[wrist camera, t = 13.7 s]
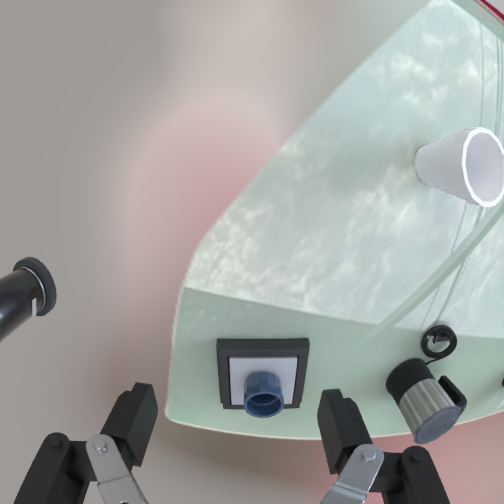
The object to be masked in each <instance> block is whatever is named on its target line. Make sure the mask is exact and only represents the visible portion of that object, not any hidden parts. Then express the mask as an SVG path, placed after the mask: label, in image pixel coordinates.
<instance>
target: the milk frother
mask: <svg viewBox="0 0 504 504" xmlns="http://www.w3.org/2000/svg"><path fill="white" fill-rule="evenodd" d="M445 333H446V334H445ZM429 339H432V340H433V343H434V344H435V343H436V342H442V341H445V340H447V341H450V344H449V346H448V347H447V348H446V349H445V350H444V351H442V352H437V353H435V352H432V351H431V350H429V348H428V345H427V344H428V340H429ZM456 345H457V338H456V335H455V333H454V332H453V330H452V329H451V328H450V327H448V326H445V325H438V326H435V327H433V328H431V329H430V330H429V331H428V332H427V333H426V334H425V336H424V338H423V341H422V350H423V352H424V354H425V355H426V356H428V357H430V358H436V359H434V360H431V361H429V362H427V363H425V362H424V361H423V360H421V359H411V360H408V361H406V362H404V363H403V364H401V365H399V366H398V367H397V368H396V369H395V370H394V371H393V372H392V373H391V375H390V376H389V378H388V380H387V384H386V387H387V390H388V392H389V393H390V394H391V395H392V397H393V398H394V400H395V401H396V403H397V405H398V407H399V409H400V411H401V413H402V415H403V417H404V418H405V420H406V422H407V424H408V426H409V428H410V430H411V432H412V434H413V436H414V442H415V443H416V444H425V443H429V442H431V441H433V440H435V439H437V438H439V437H440V436H442V435H443V434H445V433H446V432H447V431H448V430H449V429H450V428H451V427H453V425H454V424H455V422H456V421H457V420H458V418H459V416H460V415H461V414H462V412H463V411H464V409H465V407H466V405H467V400H466V398H465V396H464V395H463V394H462V393H461V392H460V391H459V389H458V388H457V387H456V386H455V385H454V384H453V383H452V382H451V381H450V380H449V379H448V378H447V377H446V376H441V377H440V379H439V380H438V382H437V380H436V379H435V378H434V377H433V375H432V374H431V372H430V370H429V369H428V367H427V366H426V365H428V364H429V363H431V362H434V361H437V360H440V359H442V358H444V357H446V356H448V355H450V354H451V353H452V352H453V351H454V349H455V348H456Z"/></svg>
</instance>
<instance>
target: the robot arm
mask: <svg viewBox="0 0 504 504" xmlns="http://www.w3.org/2000/svg"><path fill="white" fill-rule="evenodd" d="M46 301H47V294H46V289H45V286H44V283H43V281H42V279H41V278H40V276H39V275H38V273H37V272H36V271H35V270H34V269H32V268H31V267H28V266H22V267H20V268H18V269H17V270H16V271H14V272H12V273H10V274H8V275H6V276H4V277H2V278H1V279H0V342H1V341H2V340H4V339H5V338H6V337H7V336H9V335H10V334H11V333H12V332H13V331H15V330H16V329H17V328H18V327H20V326H21V325H22V324H23V323H24V322H26V321H27V320H28V319H30V318H31V317H32V316H33V317H34V316H35V315H36V313H37V312H39V311H41V310H42V309H43V308H44V307H45V305H46ZM157 414H158V407H157V402H156V398H155V394H154V390H153V386H152V385H151V384H145V383H138V382H136V383H135V385H134V387H133V389H132V391H125V392H124V393H122V394H121V395H120V396H119V397H118V399H117V401H116V403H115V406H114V407H113V409H112V412H111V413H110V414H109V416H108V419H107V420H106V423H105V425H104V427H103V429H102V430H101V433H100V434H98V435H94V436H92V437H91V438H89V439H88V441H70V440H69V439H68V437H67V436H66V435H64V434H62V433H51V434H49V435H48V436H47V437H46V438H45V440H44V441H43V443H42V445H41V447H40V449H39V451H38V453H37V455H36V457H35V459H34V461H33V463H32V465H31V467H30V469H29V471H28V473H27V475H26V477H25V479H24V481H23V484H22V486H21V488H20V490H19V492H18V495H17V497H16V499H15V501H14V504H83V501H84V498H85V495H86V492H87V489H88V486H89V483H90V481H98V484H97V486H98V490H99V492H100V494H101V496H102V499H103V501H104V504H149V503H148V501H147V500H146V498H145V497H144V495H143V493H142V491H141V489H140V488H139V486H138V484H137V482H136V480H135V479H134V477H133V475H132V473H131V470H132V467H133V466H138V467H141V464H142V461H143V458H144V455H145V451H146V448H147V445H148V442H149V439H150V436H151V433H152V430H153V427H154V424H155V421H156V418H157ZM317 419H318V425H319V429H320V433H321V437H322V441H323V445H324V449H325V453H326V458H327V462H328V466H329V470H330V474H336V473H338V476H339V477H338V478H337V480H336V481H335V483H334V484H333V485H332V486H331V488H330V489H329V491H328V493H327V494H326V495H325V497H324V498H323V500H322V501H321V502H320V504H363V503H364V501H365V500H366V497H367V493H368V492H381V493H382V497H383V501H384V504H450V502H449V499H448V497H447V495H446V492H445V489H444V487H443V484H442V482H441V479H440V477H439V475H438V472H437V470H436V468H435V465H434V463H433V461H432V459H431V456H430V454H429V452H428V451H427V450H426V449H425V448H423V447H420V446H411V447H408V448H407V449H405V450H404V452H403V453H388V452H383V451H382V450H381V449H380V448H379V447H377V446H376V445H373V443H372V441H371V438H370V436H369V433H368V431H367V428H366V426H365V423H364V421H363V420H362V419H363V418H362V416H361V414H360V411H359V409H358V406H357V404H356V403H355V402H354V401H353V400H352V399H351V398H343V396H342V394H341V391H340V389H329V390H323V392H322V396H321V400H320V404H319V408H318V414H317Z"/></svg>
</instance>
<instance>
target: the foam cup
mask: <svg viewBox="0 0 504 504" xmlns="http://www.w3.org/2000/svg"><path fill="white" fill-rule="evenodd" d="M414 166H415V171H416V174H417V176H418V177H419V179H420V180H421V181H422V182H423V183H425V184H426V185H429V186H431V187H433V188H436V189H439V190H441V191H444V192H447V193H449V194H452V195H454V196H457V197H459V198H461V199H464V200H466V201H467V202H468V203H470V204H473V205H478V206H482V207H493V206H494V205H495V204H496V203H498V202H499V201H500V200H501V198H502V196H503V194H504V149H503V147H502V145H501V143H500V141H499V139H498V138H497V137H496V136H495V135H494V134H493V133H492V132H491V131H490V130H488V129H485V128H481V127H475V128H467V129H465V130H463V131H461V132H459V133H457V134H454V135H451V136H449V137H446V138H443V139H440V140H437V141H435V142H432V143H429V144H427V145H424V146H422V147H420V148H419V150H418V151H417V153H416V154H415V161H414Z"/></svg>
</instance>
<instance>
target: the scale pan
mask: <svg viewBox="0 0 504 504" xmlns="http://www.w3.org/2000/svg"><path fill="white" fill-rule="evenodd" d="M229 361H230V383H231V402H232V404H235V405H244V382H245V381H246V379H247V378H248V377H249V376H251V375H252V374H255V373H258V372H269V373H272V374H275V375H276V376H277V377H279V379H280V381H281V384H282V391H283V398H284V404H292V399H293V391H294V383H295V375H296V367H297V356H271V357H237V356H230V358H229Z"/></svg>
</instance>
